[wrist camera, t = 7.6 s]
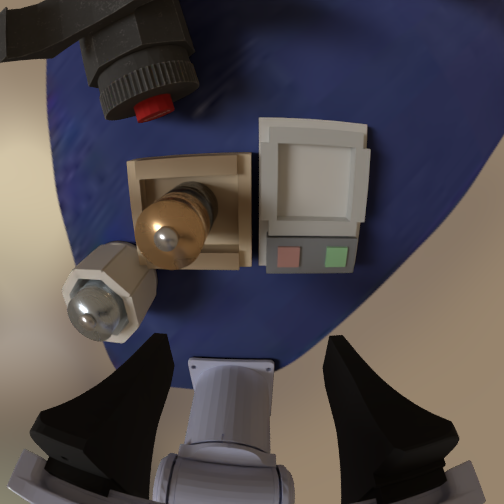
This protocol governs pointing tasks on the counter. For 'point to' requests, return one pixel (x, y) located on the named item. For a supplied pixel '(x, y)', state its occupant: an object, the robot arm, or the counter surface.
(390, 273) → the counter surface
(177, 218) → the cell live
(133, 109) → the laser sight
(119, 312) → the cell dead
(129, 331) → the cup
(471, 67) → the counter surface
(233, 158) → the tan square tray
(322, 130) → the cradle
